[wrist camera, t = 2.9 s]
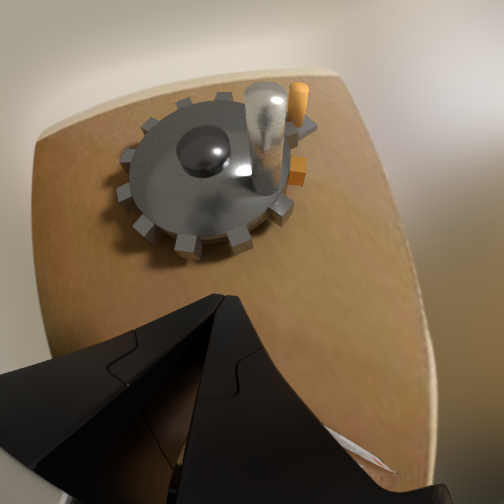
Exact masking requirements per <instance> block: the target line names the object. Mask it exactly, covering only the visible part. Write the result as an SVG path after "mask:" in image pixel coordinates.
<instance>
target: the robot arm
mask: <svg viewBox="0 0 504 504" xmlns="http://www.w3.org/2000/svg"><path fill="white" fill-rule="evenodd" d="M187 435H188V437H187ZM186 438H187V442H186V447H185V452H184V457H183V462H182V467H181V466H177V465H176V463H177V460H178V458H179V455H180V453H181V450H182V448H183V445H184V443H185V440H186ZM0 504H454V503H453V499H452V497H451V494H450V491H449V489H448V488H447V486H446V485H445V484H435V485H430V486H426V487H422V488H419V489H415V490H411V491H407V492H393V491H389V490H386V489H384V488H382V487H381V486H380V485H378V484H377V483H376V482H375V481H374V480H373V479H372V478H371V477H370V476H369V475H368V474H367V472H366V471H365V470H364V469H363V468H362V467H361V466H360V465H359V464H358V463H357V462H356V461H355V460H354V459H353V457H352V456H351V455H350V454H349V453H348V452H347V451H346V450H345V449H344V448H343V447H342V445H341V444H340V443H339V442H338V441H337V440H336V439H335V438H334V436H333V435H332V434H331V433H330V432H329V431H328V430H327V428H326V427H325V426H324V425H323V424H322V423H321V422H320V420H319V419H318V418H317V417H316V416H315V415H314V413H313V412H312V411H311V410H310V409H309V408H308V406H307V405H306V404H305V403H304V402H303V400H302V399H301V398H300V397H299V396H298V394H297V393H296V392H295V391H294V390H293V388H292V387H291V386H290V385H289V384H288V382H287V381H286V380H285V378H284V377H283V376H282V374H281V373H280V372H279V370H278V369H277V368H276V366H275V364H274V363H273V361H272V359H271V358H270V356H269V354H268V352H267V350H266V349H265V347H264V345H263V343H262V342H261V340H260V338H259V336H258V334H257V332H256V330H255V328H254V326H253V324H252V322H251V320H250V318H249V317H248V315H247V313H246V311H245V309H244V307H243V305H242V303H241V301H240V299H239V297H238V296H231V295H226V296H224V295H221V294H211V295H209V296H206V297H204V298H202V299H200V300H198V301H196V302H194V303H191V304H189V305H187V306H185V307H183V308H181V309H178V310H176V311H174V312H172V313H170V314H167V315H165V316H163V317H161V318H159V319H156V320H154V321H152V322H150V323H147V324H145V325H143V326H141V327H139V328H136V329H135V331H134V330H131V331H129V332H126V333H124V334H122V335H119V336H117V337H114V338H112V339H110V340H107V341H104V342H101V343H99V344H96V345H93V346H90V347H87V348H84V349H81V350H78V351H75V352H72V353H69V354H66V355H63V356H60V357H57V358H53V359H51V360H47V361H44V362H41V363H37V364H35V365H31V366H28V367H25V368H21V369H18V370H14V371H11V372H8V373H4V374H1V375H0Z"/></svg>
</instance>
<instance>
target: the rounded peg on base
mask: <svg viewBox="0 0 504 504" xmlns="http://www.w3.org/2000/svg"><path fill="white" fill-rule="evenodd" d="M308 91H309V88H308V86H307V85H306V84H304V83H301V82H295V83H292V84H291V85H290V88H289V101H288V112H286V118H285V123H286V122H290V121H292V122H293V124H294V125H295V127H296V128H297V130H298V131H299V138H298V141H299V140H300V139H302V138H304V137H305V136H307V135H309V134H310V133H312V132H314V131H316V129H317V124H316V123H315V122H313V121H312V120H311V119H310V118H309V117H307V116H306V115H305V111H306V104H307V98H308Z"/></svg>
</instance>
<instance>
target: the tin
mask: <svg viewBox="0 0 504 504" xmlns="http://www.w3.org/2000/svg"><path fill="white" fill-rule="evenodd" d="M321 423H322V422H321ZM322 424H323V423H322ZM323 425H324V426H325V427H326V428H327V430H328V431H329V432H330V433H331V434H332V435H333V436H334V438H335V439H336V440H337V441H338V442H339V443H340V444H341V445H342V447H343V448H344V449H345V450H346V451H347V452H348V453H349V454H350V455H351V456H352V457H353V459H354V460H355V461H356V462H357V463H358V464H359V465H360V466H361V467H362V468H363V469H364V470H365V471H366V472H367V474H368V475H369V476H370V477H371V478H372V479H373V480H374V481H375V482H376V483H377V484H378V485H380V486H381V487H382V488H384V489H386V490H389V491H392V490H393V489H394V488H395V487H396V485H397V484H398V483H399V481H400V480H401V477H402V475H401V474H400V473H398V472H394V471H393V470H392V469H390V468H389V467H388V466H386V465H385V464H384V463H383V461H382V460H381V459H380V458H378V457H377V456H376V455H374V454H372V453H371V452H369V451H367V450H366V449H364V448H363V447H361V446H359V445H358V444H356V443H354V442H353V441H351V440H349V439H348V438H346V437H344V436H343V435H341V434H339V433H338V432H336V431H334V430H333V429H331V428H329V427H328V426H326V425H325V424H323Z"/></svg>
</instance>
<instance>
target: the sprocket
mask: <svg viewBox="0 0 504 504" xmlns="http://www.w3.org/2000/svg"><path fill="white" fill-rule="evenodd" d="M244 98H245V104H243V103H239V102H233V97H232V92H217V94H216V97H215V100H214V101H207V102H201V103H197V104H192V102H191V100H190V97H188V98H185V99H183V100H180V101H178V102H175V103H176V106H177V109H178V110H177V111H175V112H173V113H171V114H170V115H168V116H166V117H165V118H164V119H162V120H161V121H158V120H156V119H154V118H152V117H151V118H150V119H149V120H147V121H146V122H145V123H144V124H143V125H142V126H141V129H142V131H143V133H144V135H145V136H144V138H143V139H142V140H141V142H140V144H139V145H138V147H137V149H124V152H123V154H122V157H121V159H120V162H119V163H120V164H121V165H122V167H123V168H124V169H125V171H126V172H127V173H128V174H129V182H128V183H126V184H124V185H122V186H120V187H118V188H116V191H117V196H118V201H119V203H120V204H121V205H122V206H123V207H124V208H125V209H126V210H127V211H128V212H131V211H133V210H135V209H138V208H139V209H140V211H141V212H142V213H143V214H144V215H145V216H146V217H145V216H144V215H143V214H142V215H141V216H140V218H139V219H138V220H137V221H136V222H135V223H134V225H133V226H132V227H133V228H135V229H136V230H137V231H138V232H139V233H140V234H141V235H142V236H143V237H145V238H146V239H147V240H148V241H149V242H150V243H151V244H153V245H154V244H155V243H156V242H157V241H158V239H159V238H160V237H161V236H162V235H163V233H164V234H166V235H168V236H170V237H172V238H174V239H176V244H175V248H174V250H175V251H176V252H177V253H178V254H179V255H180V256H181V257H182V258H188V259H195V260H200V257H201V251H202V246H203V244H213V243H220V242H225V241H230V244H231V246H232V249H233V251H234V253H235V255H237V254H240V253H242V252H245V251H247V250H250V249H252V248H253V243H252V238H251V236H250V233H249V232H250V231H252V230H253V229H255V228H256V227H258V226H259V225H260V224H262V223H263V222H264V221H265V220H266V219H267V218H268V219H270V220H271V221H273V222H274V223H276V224H277V225H279V226H280V227H282V226H283V224H284V223H285V222H286V221H287V219H288V218H289V217H290V215H291V214H292V211H293V206H294V202H293V201H292V200H290V199H289V198H287V197H286V196H284V193H285V190H286V187H287V183H288V184H290V185H298V186H303V183H304V179H305V174H306V159H307V158H303V157H295V156H291V160H290V149H292V148H295V147H297V144H298V138H299V131H298V130H297V128H296V127H295V125H294V124H293V122H292V121H290V122H286V123H285V118H286V104H287V92H286V90H285V89H284V88H283V87H282V86H281V85H279V84H277V83H273V82H257V83H254V84H252V85H250V86H249V87H248V88H247V89H246V90H245V93H244ZM162 232H163V233H162Z"/></svg>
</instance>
